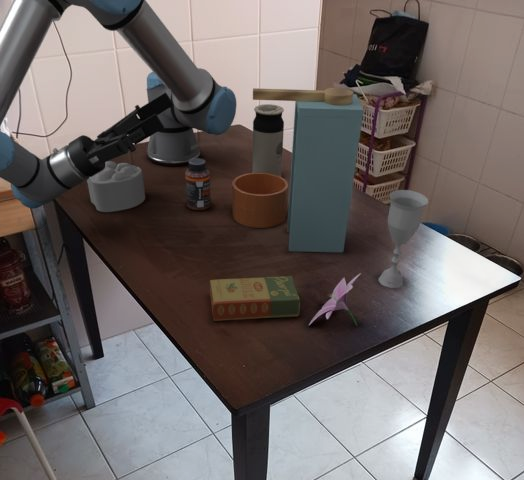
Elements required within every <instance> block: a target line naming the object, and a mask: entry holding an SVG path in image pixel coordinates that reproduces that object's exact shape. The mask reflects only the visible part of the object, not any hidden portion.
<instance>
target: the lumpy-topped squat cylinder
mask: <svg viewBox="0 0 524 480" xmlns="http://www.w3.org/2000/svg"><path fill="white" fill-rule="evenodd" d="M86 182H87V187H88V193H89V199H90V203H91V204H93V206H95V210H96V211H99V212H100V213H113V212H118V211H119V212H120V211H125V210H128V209H132V208H135V207H137V206H140V204H142V203H143V202H144V201H145V200H146V191H145V183H144V182H145V181H144V174H143V170H142V168H141V167H139V166H136V165H132V164H130V163H128V162H121V163H120V162H119V163H116V162H114V161H111V160H109V161H106V162H105V169H104V170H103V171H101V172H99V173H97V174H96V175H94V176H92V177H89V179H88V180H86Z"/></svg>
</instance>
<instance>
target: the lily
mask: <svg viewBox="0 0 524 480" xmlns="http://www.w3.org/2000/svg"><path fill="white" fill-rule="evenodd" d="M361 274H362V273H361V272H360V273H358V274H357V275H356V276H354V277H353V278H352V279H351V280H350V281H348V283H347V282H346V278H345V277H343V278H342V279H341V280H340V281H339V282H338V284H337V285H336V286H335V287H334V289H333V291H332V293H331V292H330V293H328V296H329V297H330V299H328V300H327V301H326V302H325V303H324V304H323V305H322V307H321V309H320V310H318V311H317V312H316V314H315V315H314V316H313V317H312V319H311V320H310V322H309V324H308V326H310V325H311V324H313V322H314V321H315V320H316V319H317V318H319V317H320V316H321V315H323V314H325V313H326V314H325V318H326V320H329V319H330V317H331V315H332V313H333V311H340V310H345V311H347V313H348V314H349V315H350V317H351V319H352V321H353V322H354V324H355V326H358V323H357V321H356V319H355V317H354V316H353V314H352V312H351V311H350V310H349V308H348V306H347V301H348V300H347V299H348V293H349V292H350V291H351V290H352V289H353V288H354V285H353V284H354V282H355V281H356V280H357V279H358V278H359V276H360V275H361Z"/></svg>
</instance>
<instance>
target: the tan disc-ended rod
mask: <svg viewBox="0 0 524 480" xmlns="http://www.w3.org/2000/svg"><path fill="white" fill-rule="evenodd" d="M353 94H354V91H353V90H351V89H350V88H349V89H348V88H346V87H327V88H325V89H324V90H321V89H318V90H317V89H287V88H252V101H254V100H255V101H278V102H279V101H281V102H295V101H312V102H325V103H328V104H332V105H348V104H351V103H352V100H353Z"/></svg>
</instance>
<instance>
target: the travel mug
mask: <svg viewBox="0 0 524 480" xmlns="http://www.w3.org/2000/svg"><path fill="white" fill-rule="evenodd" d="M284 111H285V109H284V107H282V106H281V105H277V104H272V103H271V104H270V103H269V104H268V103H267V104H259V105H257V106H255V107H254V112H255V117H254V118H253V121H252V123H253V124H252V167H251V168H252V172H251V173H269V174H274V175H277V176H280V177H282V170H283V169H282V168H283V152H284V151H283V150H284V131H285V130H284V129H285V121H284V119H283V113H284Z"/></svg>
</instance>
